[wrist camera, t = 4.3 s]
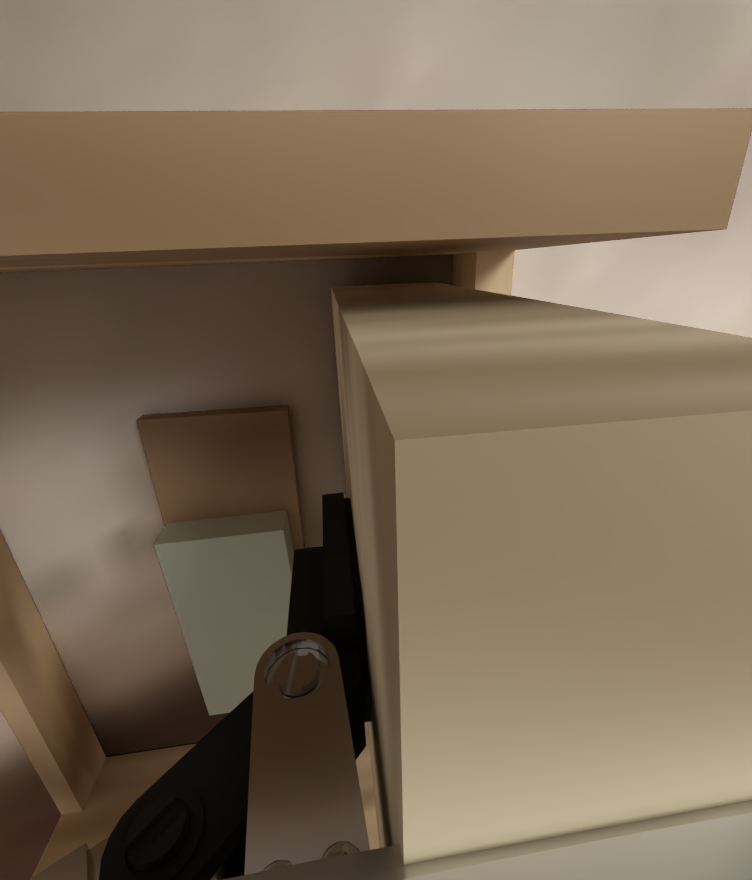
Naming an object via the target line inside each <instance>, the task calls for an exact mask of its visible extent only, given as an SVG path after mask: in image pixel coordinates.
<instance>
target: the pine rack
mask: <svg viewBox="0 0 752 880" xmlns="http://www.w3.org/2000/svg"><path fill="white" fill-rule="evenodd" d="M751 132H752V108H716V109H517V110H317V111H118V112H0V273H3V272H27V271H52V270H77V269H101V268H126V267H150V266H175V265H199V264H224V263H248V262H273V261H297V260H322V259H346V258H371V257H395V256H420V255H444V254H453V286H459V287H465V288H470V289H476V290H482V291H488V292H493V293H499V294H505V295H510V296H511V289H512V277H513V265H514V252H515V250H519V249H529V248H540V247H550V246H560V245H570V244H580V243H590V242H600V241H610V240H621V239H631V238H641V237H651V236H661V235H671V234H681V233H691V232H701V231H712V230H722V229H727V225H728V221H729V217H730V214H731V210H732V206H733V202H734V198H735V194H736V190H737V186H738V182H739V179H740V175H741V171H742V167H743V163H744V159H745V155H746V151H747V147H748V144H749V140H750V136H751ZM0 710H1V712H2V714H3V715H4V717H5V719H6V720H7V722H8V724H9V726H10V727H11V729H12V731H13V732H14V734H15V736H16V738H17V739H18V741H19V743H20V744H21V746H22V748H23V750H24V751H25V753H26V755H27V756H28V758H29V760H30V762H31V763H32V765H33V767H34V768H35V770H36V772H37V774H38V775H39V777H40V779H41V780H42V782H43V784H44V786H45V787H46V789H47V791H48V792H49V794H50V796H51V798H52V799H53V801H54V803H55V804H56V806H57V808H58V810H59V811H60V813H61V817H60V819H59V821H58V823H57V825H56V827H55V829H54V831H53V833H52V835H51V838H50V840H49V842H48V844H47V846H46V848H45V850H44V852H43V854H42V857H41V859H40V861H39V863H38V865H37V867H36V869H35V871H34V873H33V876H32V877H34V876H35V875H37V874H38V873H40V872H42V871H43V870H45V869H46V868H48V867H49V866H51V865H52V864H54V863H55V862H57V861H59V860H60V859H62V858H63V857H65V856H66V855H68V854H69V853H71V852H72V851H74V850H76V849H77V848H79V847H80V846H82V845H83V844H85V843H86V844H87V846H88V847H89V849H91V848H92V847H94V846H95V845H97V844H98V843H100V842H101V841H103V840H104V839H106V838H107V837H109V836H110V835H111V833H112V831H113V830H114V828H115V826H116V825H117V823H118V821H119V820H120V818H121V817H122V815H123V814H124V813H125V812H126V811H127V810H128V809H129V808H130V806H131V805H132V804H133V803H134V802H135V801H136V800H137V799H138V798H139V797H140V796H141V795H142V794H143V793H144V792H145V791H146V790H147V789H149V788H150V787H151V786H152V785H153V784H154V783H155V782H156V781H157V780H158V779H159V778H160V777H161V776H162V775H164V774H165V773H166V772H167V771H168V770H169V769H170V768H171V767H172V766H173V765H174V764H175V763H176V762H178V761H179V760H180V759H181V758H182V757H183V756H184V755H185V754H186V753H187V752H188V751H189V750H190V749H191V748H193V747H194V746H195V745H196V744H190V745H184V746H177V747H171V748H164V749H158V750H151V751H145V752H138V753H131V754H125V755H118V756H112V757H106V756H105V754H104V752H103V750H102V747H101V745H100V743H99V741H98V739H97V737H96V735H95V732H94V730H93V728H92V726H91V724H90V722H89V720H88V717H87V715H86V713H85V711H84V709H83V707H82V705H81V702H80V700H79V698H78V696H77V694H76V692H75V690H74V687H73V685H72V683H71V681H70V679H69V677H68V675H67V672H66V670H65V668H64V666H63V664H62V662H61V660H60V657H59V655H58V653H57V651H56V649H55V647H54V645H53V642H52V640H51V638H50V636H49V634H48V632H47V630H46V627H45V625H44V623H43V621H42V619H41V617H40V615H39V612H38V610H37V608H36V606H35V604H34V602H33V599H32V597H31V595H30V593H29V591H28V589H27V587H26V584H25V582H24V580H23V578H22V576H21V574H20V572H19V569H18V567H17V565H16V563H15V561H14V559H13V557H12V554H11V552H10V550H9V548H8V546H7V544H6V542H5V539H4V537H3V535H2V533H1V531H0ZM365 734H366V747H365V748H364V750H363V751H362V752H361V754H360V755H359V757H358V758H357V759H356V766H357V772H358V778H359V784H360V790H361V797H362V803H363V809H364V815H365V821H366V827H367V833H368V840H369V846H370V850H372V849H378V848H380V846H379V836H378V826H377V816H376V806H375V796H374V786H373V777H372V767H371V757H370V747H369V737H368V727H367V722H365Z"/></svg>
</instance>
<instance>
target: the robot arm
mask: <svg viewBox="0 0 752 880" xmlns="http://www.w3.org/2000/svg"><path fill="white" fill-rule="evenodd" d="M322 504H323V546H322V547H312V548H303V549H295V551H294V558H293V569H292V580H291V591H290V602H289V613H288V624H287V635H286V636H285V637H282V638H281V639H279V640H278V641H276V642H274V643H273V644H272V645H271V646H270V647H269V648H268V649H267V650H266V651H265V652H264V653H263V654H262V656H261V658H260V659H259V661H258V663H257V666H256V670H255V675H254V691H253V692H252V693H251V694H249V695H248V696H247V697H246V698H245V699H244V700H243V701H242V702H241V703H240V704H239V705H238V706H237V707H236V708H234V709H233V710H232V711H231V712H230V713H229V714H228V715H227V716H226V717H225V718H224V719H223V720H222V721H220V722H219V723H218V724H217V725H216V726H215V727H214V728H213V729H212V730H211V731H210V732H209V733H208V734H207V735H205V736H204V737H203V738H202V739H201V740H200V741H199V742H198V743H197V744H196V745H195V746H194V747H193V748H191V749H190V750H189V751H188V752H187V753H186V754H185V755H184V756H183V757H182V758H181V759H180V760H179V761H178V762H176V763H175V764H174V765H173V766H172V767H171V768H170V769H169V770H168V771H167V772H166V773H165V774H164V775H162V776H161V777H160V778H159V779H158V780H157V781H156V782H155V783H154V784H153V785H152V786H151V787H150V788H149V789H147V790H146V791H145V792H144V793H143V794H142V795H141V796H140V797H139V798H138V799H137V800H136V801H135V802H134V803H133V804H132V805H131V806H130V808H129V809H128V810H127V811H126V812H125V813H124V814H123V815H122V817H121V818H120V820H119V821H118V823H117V825H116V826H115V828H114V830H113V831H112V833H111V835H110V836H109V837H107V838H106V839H104V840H103V841H101V842H100V843H98V844H97V845H95V846H94V847H92V848H91V849H89V847H88V846H87V844H86V843H85V844H83V845H82V846H80V847H79V848H77V849H76V850H74V851H72V852H71V853H69V854H68V855H66V856H65V857H63V858H62V859H60V860H59V861H57V862H55V863H54V864H52V865H51V866H49V867H48V868H46V869H45V870H43V871H42V872H40V873H38V874H37V875H35V876H34V877H32V878H31V879H29V880H752V800H749V801H744V802H738V803H733V804H727V805H722V806H717V807H711V808H706V809H700V810H695V811H690V812H684V813H679V814H674V815H668V816H663V817H657V818H652V819H647V820H641V821H636V822H631V823H625V824H620V825H614V826H609V827H604V828H598V829H593V830H588V831H582V832H577V833H572V834H566V835H561V836H555V837H550V838H545V839H539V840H534V841H529V842H523V843H518V844H513V845H507V846H502V847H496V848H491V849H486V850H480V851H475V852H470V853H464V854H459V855H453V856H448V857H443V858H437V859H432V860H427V861H422V862H416V863H411V864H406V865H404V863H403V859H402V854H401V850H400V846H399V845H394V846H388V847H383V848H378V849H372V850H370V846H369V840H368V833H367V827H366V821H365V815H364V809H363V803H362V797H361V790H360V784H359V778H358V772H357V766H356V759H357V758H358V757H359V755H360V754H361V752H362V751H363V750H364V748H365V747H366V734H365V722H371V721H372V720H371V704H370V689H369V674H368V658H367V643H366V628H365V615H364V605H363V596H362V588H361V580H360V572H359V564H358V556H357V549H356V541H355V533H354V525H353V517H352V509H351V501H350V498H344V493H335V494H325V495H322Z"/></svg>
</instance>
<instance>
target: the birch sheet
mask: <svg viewBox="0 0 752 880" xmlns="http://www.w3.org/2000/svg"><path fill="white" fill-rule="evenodd" d="M331 295H332V308H333V321H334V335H335V348H336V361H337V374H338V387H339V400H340V413H341V426H342V439H343V452H344V465H345V478H346V491H347V498H350V501H351V509H352V517H353V525H354V533H355V541H356V549H357V556H358V564H359V572H360V580H361V588H362V596H363V605H364V615H365V628H366V643H367V658H368V674H369V689H370V704H371V720H372V721H371V722H367V727H368V737H369V747H370V757H371V767H372V777H373V786H374V796H375V806H376V816H377V826H378V836H379V846H380V848H383V847H388V846H394V845H399V846H400V850H401V854H402V859H403V863H404V865H406V864H411V863H416V862H422V861H427V860H432V859H437V858H443V857H448V856H453V855H459V854H464V853H470V852H475V851H480V850H486V849H491V848H496V847H502V846H507V845H513V844H518V843H523V842H529V841H534V840H539V839H545V838H550V837H555V836H561V835H566V834H572V833H577V832H582V831H588V830H593V829H598V828H604V827H609V826H614V825H620V824H625V823H631V822H636V821H641V820H647V819H652V818H657V817H663V816H668V815H674V814H679V813H684V812H690V811H695V810H700V809H706V808H711V807H717V806H722V805H727V804H733V803H738V802H744V801H749V800H752V338H749V337H744V336H738V335H732V334H727V333H721V332H715V331H710V330H704V329H698V328H692V327H687V326H681V325H675V324H670V323H664V322H658V321H653V320H647V319H641V318H636V317H630V316H624V315H618V314H613V313H607V312H601V311H596V310H590V309H584V308H579V307H573V306H567V305H562V304H556V303H550V302H544V301H539V300H533V299H527V298H522V297H516V296H510V295H505V294H499V293H493V292H488V291H482V290H476V289H470V288H465V287H459V286H453V285H448V284H442V283H436V282H429V283H408V284H387V285H366V286H345V287H331Z"/></svg>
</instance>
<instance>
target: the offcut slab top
mask: <svg viewBox="0 0 752 880" xmlns="http://www.w3.org/2000/svg"><path fill="white" fill-rule="evenodd" d="M154 548H155V551H156V554H157V557H158V560H159V563H160V566H161V569H162V572H163V575H164V578H165V581H166V584H167V587H168V591H169V594H170V597H171V600H172V603H173V606H174V609H175V612H176V615H177V618H178V621H179V624H180V627H181V630H182V633H183V636H184V640H185V643H186V646H187V649H188V652H189V655H190V658H191V661H192V664H193V667H194V670H195V673H196V676H197V679H198V682H199V685H200V689H201V692H202V695H203V698H204V701H205V704H206V707H207V710H208V713H209V716H210V715H217V714H224V713H230V712H231V711H232V710H233V709H234V708H236V707H237V706H238V705H239V704H240V703H241V702H242V701H243V700H244V699H245V698H246V697H247V696H248V695H249V694H251V693H252V692H253V691H254V675H255V670H256V666H257V663H258V661H259V659H260V658H261V656H262V654H263V653H264V652H265V651H266V650H267V649H268V648H269V647H270V646H271V645H272V644H273V643H274V642H276V641H278V640H279V639H281V638H282V637H285V636H286V635H287V624H288V613H289V602H290V591H291V580H292V569H293V558H294V550H293V545H292V539H291V533H290V527H289V521H288V515H287V510H283V511H274V512H265V513H256V514H247V515H238V516H229V517H220V518H211V519H202V520H193V521H185V522H176V523H168V524H167V525H166V526H165V528H164V529H163V531H162V533H161V534H160V536H159V537H158V539H157V540H156V542H155V544H154Z"/></svg>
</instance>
